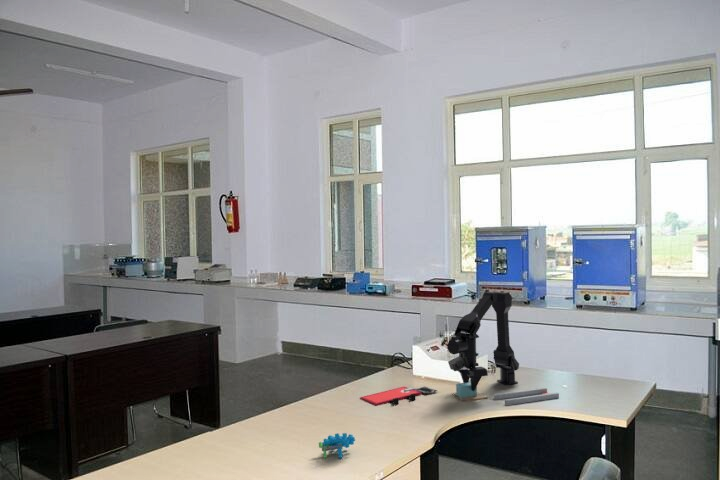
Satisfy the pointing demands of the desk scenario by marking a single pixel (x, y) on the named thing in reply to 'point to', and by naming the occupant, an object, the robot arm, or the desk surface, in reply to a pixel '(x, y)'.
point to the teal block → (465, 390)
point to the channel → (542, 391)
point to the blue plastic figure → (337, 443)
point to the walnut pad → (472, 397)
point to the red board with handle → (396, 395)
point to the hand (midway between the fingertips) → (469, 388)
